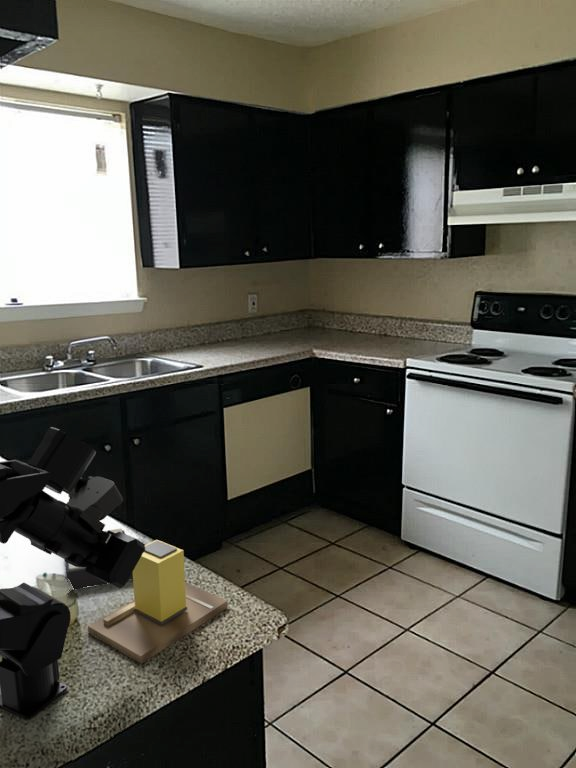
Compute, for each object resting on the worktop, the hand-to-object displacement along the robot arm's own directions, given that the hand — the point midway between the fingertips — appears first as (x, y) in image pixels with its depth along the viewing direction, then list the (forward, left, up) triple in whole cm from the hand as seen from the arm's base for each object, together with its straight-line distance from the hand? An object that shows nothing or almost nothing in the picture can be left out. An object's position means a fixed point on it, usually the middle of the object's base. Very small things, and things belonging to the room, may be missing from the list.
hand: (123, 566), depth 94 cm
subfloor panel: (+6, -1, -12) cm, 13 cm away
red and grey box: (+15, +20, -12) cm, 28 cm away
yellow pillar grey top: (+6, -1, -10) cm, 12 cm away
